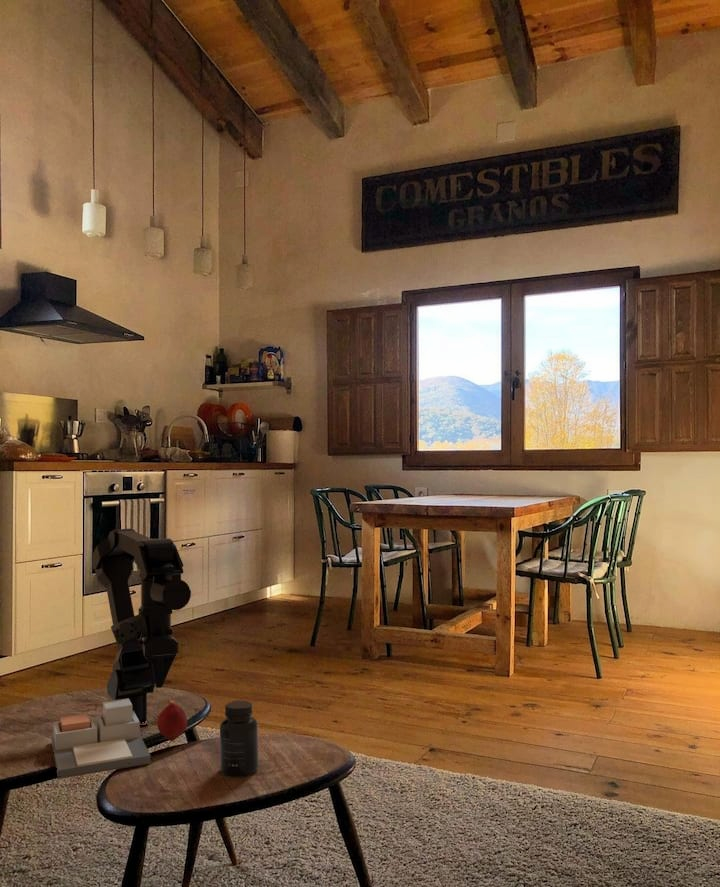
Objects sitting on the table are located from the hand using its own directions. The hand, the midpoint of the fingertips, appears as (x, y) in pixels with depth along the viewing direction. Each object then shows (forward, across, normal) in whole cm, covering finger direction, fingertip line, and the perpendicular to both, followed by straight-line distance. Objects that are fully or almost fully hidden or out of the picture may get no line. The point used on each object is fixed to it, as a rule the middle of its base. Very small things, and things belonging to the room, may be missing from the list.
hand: (156, 681), depth 156 cm
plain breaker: (+9, -3, -7) cm, 12 cm away
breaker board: (+12, +1, -11) cm, 16 cm away
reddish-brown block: (+10, -3, -15) cm, 19 cm away
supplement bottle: (+12, +19, +12) cm, 26 cm away
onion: (+12, 0, +3) cm, 13 cm away
